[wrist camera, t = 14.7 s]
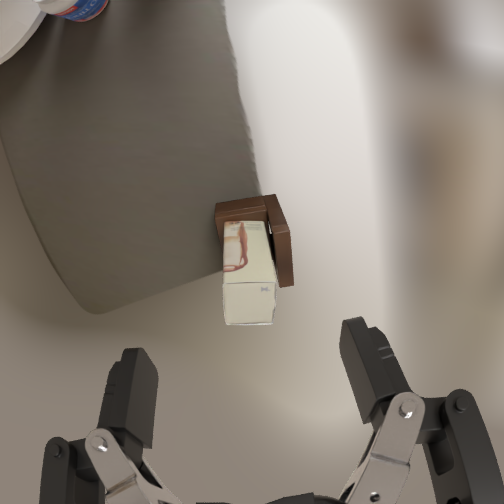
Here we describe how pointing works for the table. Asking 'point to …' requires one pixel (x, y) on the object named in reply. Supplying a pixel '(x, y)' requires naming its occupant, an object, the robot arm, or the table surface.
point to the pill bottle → (73, 8)
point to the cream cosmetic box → (248, 274)
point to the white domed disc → (17, 25)
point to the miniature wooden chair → (265, 211)
